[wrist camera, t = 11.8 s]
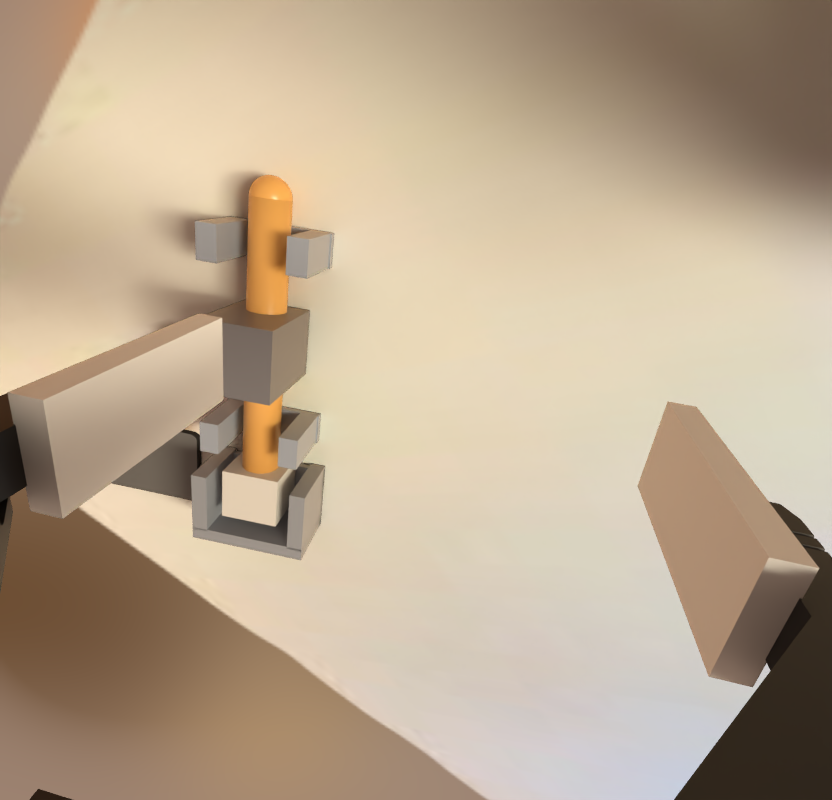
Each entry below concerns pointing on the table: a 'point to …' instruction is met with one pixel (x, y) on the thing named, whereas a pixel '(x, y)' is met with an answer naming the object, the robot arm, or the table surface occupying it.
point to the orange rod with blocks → (262, 359)
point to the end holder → (277, 540)
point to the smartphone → (167, 467)
